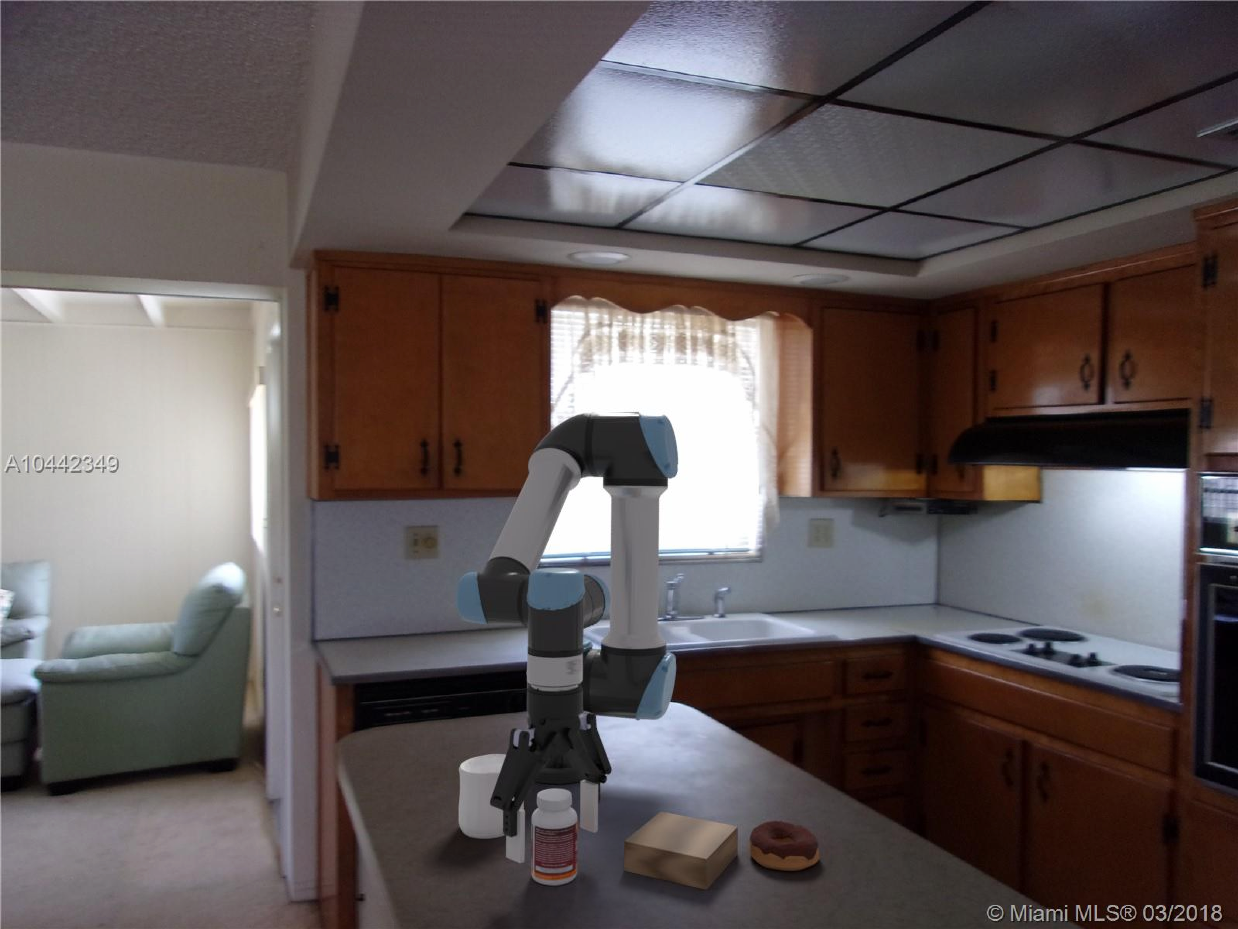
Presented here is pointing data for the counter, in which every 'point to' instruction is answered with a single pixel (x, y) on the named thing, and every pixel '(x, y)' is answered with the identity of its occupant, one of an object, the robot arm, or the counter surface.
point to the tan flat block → (681, 849)
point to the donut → (783, 846)
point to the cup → (480, 797)
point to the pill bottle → (554, 838)
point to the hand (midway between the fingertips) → (553, 844)
